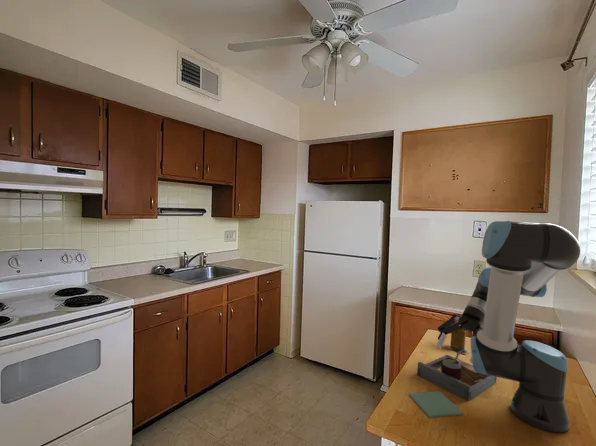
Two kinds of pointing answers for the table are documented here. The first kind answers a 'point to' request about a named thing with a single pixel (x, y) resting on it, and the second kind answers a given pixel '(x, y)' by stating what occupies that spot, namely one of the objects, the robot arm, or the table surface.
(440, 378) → the tray
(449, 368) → the mate gourd
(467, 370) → the offcut stack
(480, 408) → the table surface
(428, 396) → the green mat
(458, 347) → the condiment
